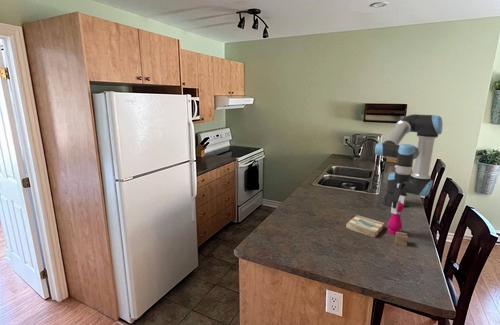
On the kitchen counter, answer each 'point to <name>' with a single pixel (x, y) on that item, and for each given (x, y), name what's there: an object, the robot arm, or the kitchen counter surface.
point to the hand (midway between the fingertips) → (397, 209)
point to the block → (401, 238)
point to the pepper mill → (396, 220)
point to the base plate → (365, 226)
